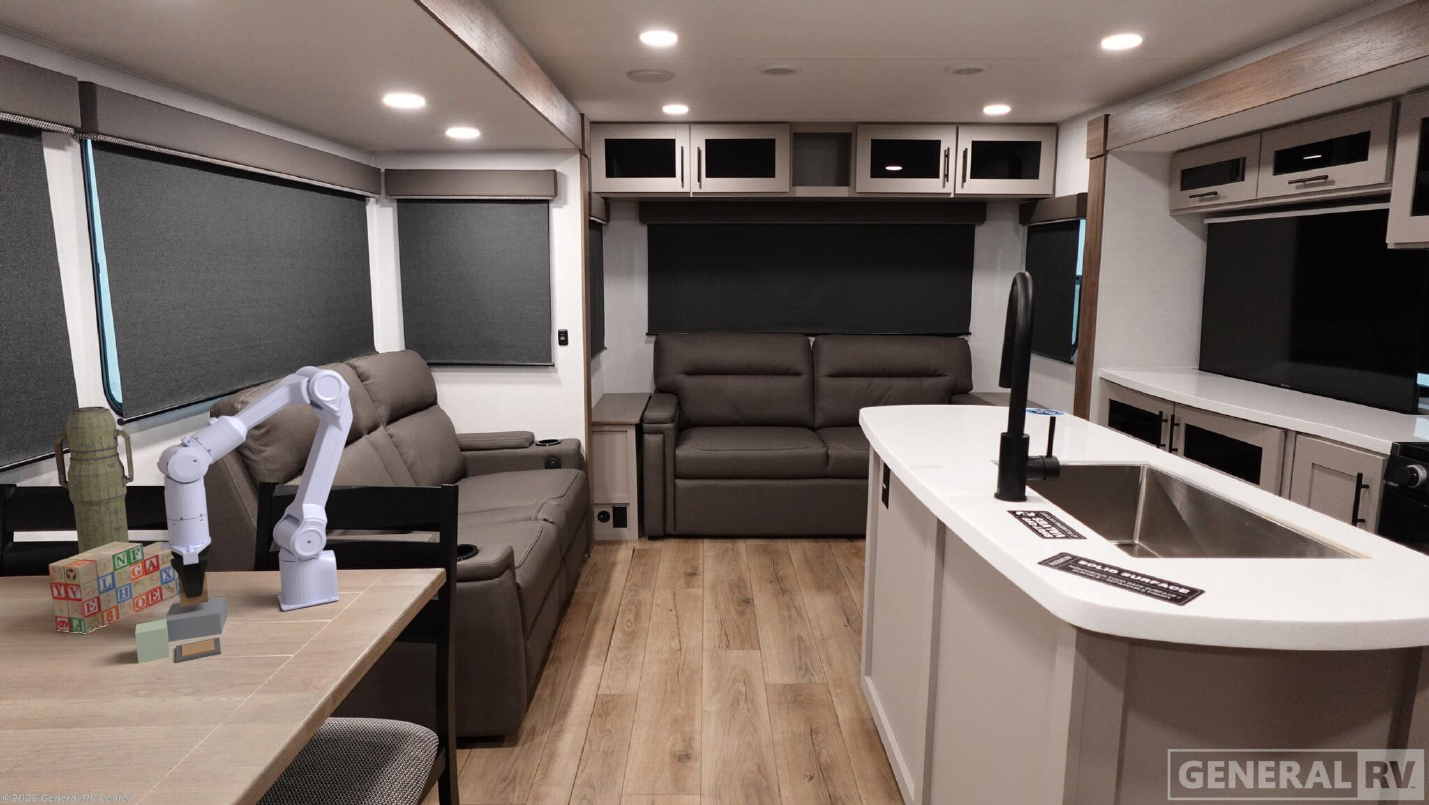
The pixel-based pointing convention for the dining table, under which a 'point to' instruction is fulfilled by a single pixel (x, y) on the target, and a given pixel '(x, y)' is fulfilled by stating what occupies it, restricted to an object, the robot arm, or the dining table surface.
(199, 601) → the walnut block
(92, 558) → the stack of blocks
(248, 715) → the dining table surface
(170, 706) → the dining table surface
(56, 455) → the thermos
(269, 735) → the dining table surface
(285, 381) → the robot arm
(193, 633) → the slate base block
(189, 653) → the card
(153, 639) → the sage green block
